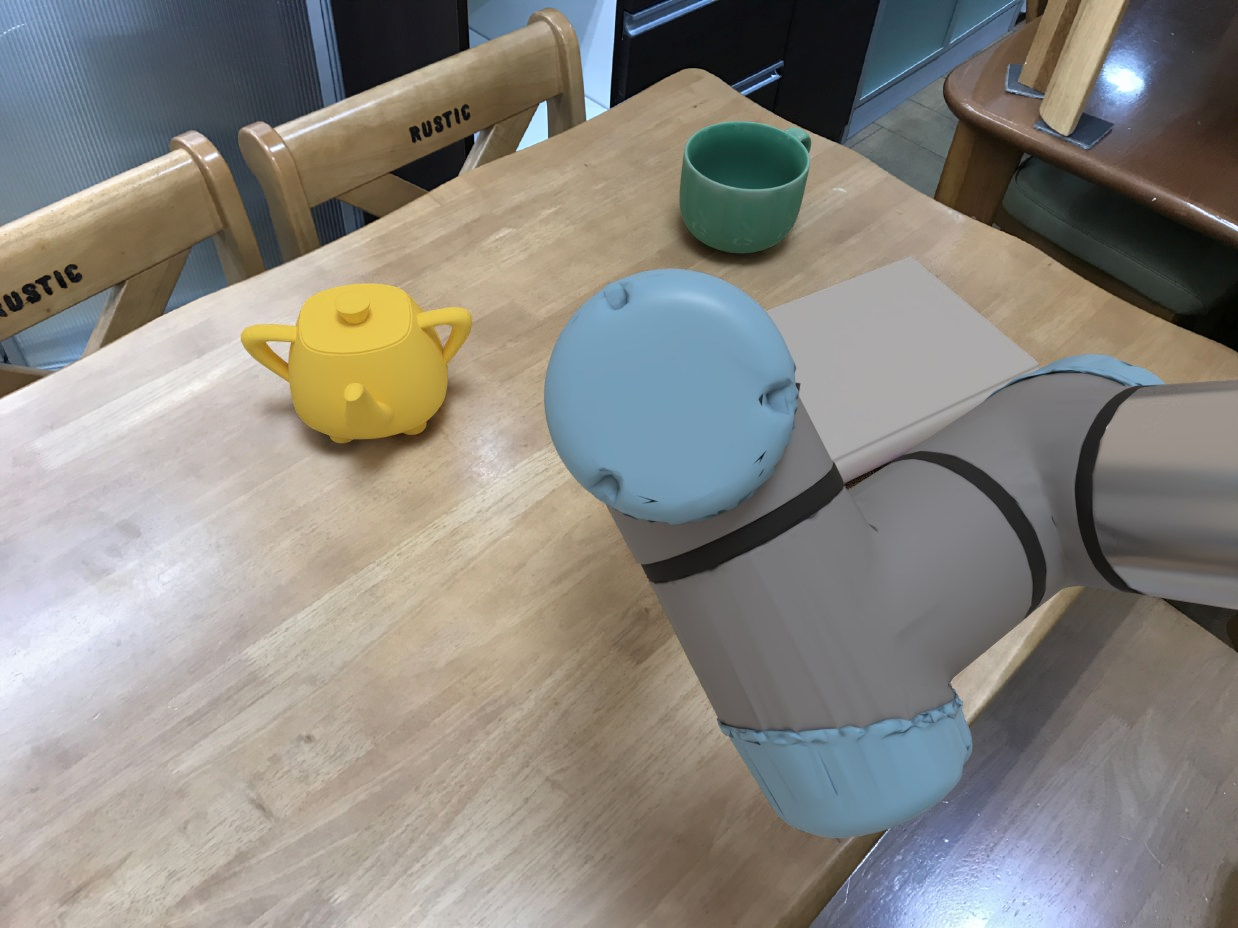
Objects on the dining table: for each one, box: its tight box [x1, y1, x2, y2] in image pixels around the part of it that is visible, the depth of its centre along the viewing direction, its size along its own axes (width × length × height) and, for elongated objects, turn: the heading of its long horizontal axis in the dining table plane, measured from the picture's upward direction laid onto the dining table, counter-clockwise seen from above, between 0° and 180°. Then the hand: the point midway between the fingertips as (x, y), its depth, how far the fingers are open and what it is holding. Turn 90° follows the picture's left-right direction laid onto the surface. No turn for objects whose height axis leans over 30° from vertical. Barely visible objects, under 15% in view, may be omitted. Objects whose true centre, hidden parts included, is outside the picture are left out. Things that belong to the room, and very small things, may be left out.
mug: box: [679, 120, 812, 254], centre depth 92 cm, size 17×13×10 cm
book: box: [765, 255, 1041, 484], centre depth 80 cm, size 18×4×24 cm
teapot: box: [240, 282, 473, 444], centre depth 73 cm, size 14×14×12 cm
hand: (682, 389), depth 63 cm, fingers closed
